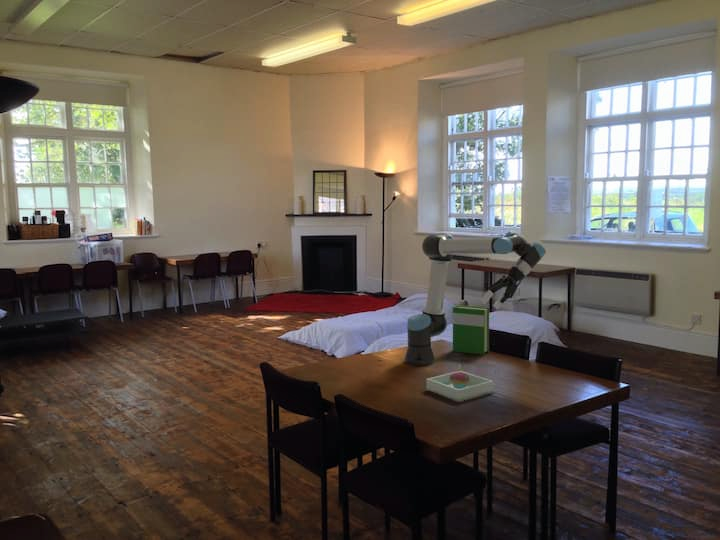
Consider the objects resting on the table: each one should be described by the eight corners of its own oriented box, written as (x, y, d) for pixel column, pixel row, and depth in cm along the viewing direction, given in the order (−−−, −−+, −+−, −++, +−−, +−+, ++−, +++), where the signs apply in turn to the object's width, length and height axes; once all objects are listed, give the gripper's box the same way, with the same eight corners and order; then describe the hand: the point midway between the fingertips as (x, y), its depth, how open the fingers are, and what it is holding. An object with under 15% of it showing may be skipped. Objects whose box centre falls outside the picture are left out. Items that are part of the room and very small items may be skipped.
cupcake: (469, 392, 256) (469, 364, 255) (449, 391, 258) (449, 364, 256) (469, 386, 265) (469, 359, 263) (449, 385, 266) (449, 358, 265)
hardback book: (488, 351, 327) (489, 307, 324) (484, 354, 320) (484, 309, 318) (458, 347, 336) (458, 305, 333) (452, 350, 330) (452, 307, 327)
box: (426, 390, 264) (426, 378, 263) (460, 381, 275) (460, 370, 274) (458, 402, 247) (458, 390, 247) (493, 392, 259) (493, 381, 258)
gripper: (537, 280, 271) (506, 315, 270) (511, 273, 295) (482, 305, 294) (527, 268, 270) (495, 304, 268) (501, 262, 294) (472, 295, 292)
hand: (488, 304), depth 281 cm, fingers open, 13 cm apart
